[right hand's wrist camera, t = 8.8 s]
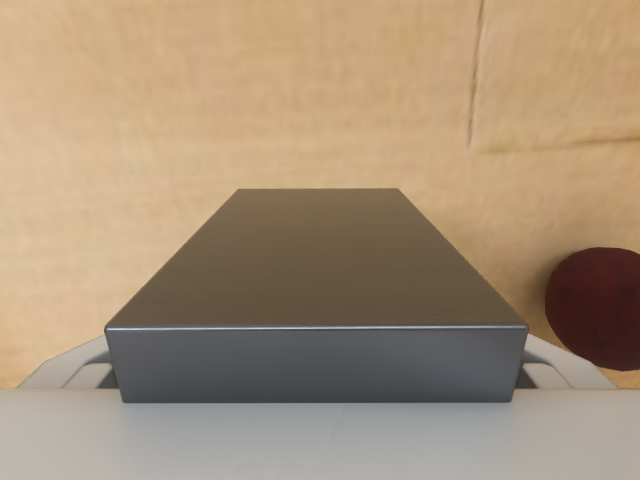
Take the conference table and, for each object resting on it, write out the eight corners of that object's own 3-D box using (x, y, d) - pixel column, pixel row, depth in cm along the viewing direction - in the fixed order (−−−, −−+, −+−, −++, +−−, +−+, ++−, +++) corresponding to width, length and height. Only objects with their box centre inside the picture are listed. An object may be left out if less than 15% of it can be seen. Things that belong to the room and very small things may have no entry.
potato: (543, 340, 28) (612, 412, 21) (507, 263, 25) (572, 317, 19) (638, 297, 26) (744, 360, 20) (610, 211, 24) (719, 251, 17)
